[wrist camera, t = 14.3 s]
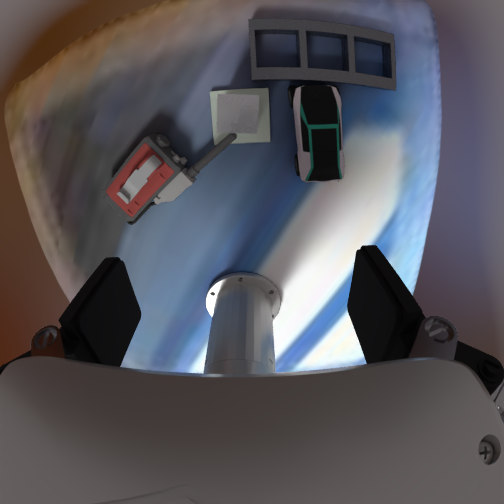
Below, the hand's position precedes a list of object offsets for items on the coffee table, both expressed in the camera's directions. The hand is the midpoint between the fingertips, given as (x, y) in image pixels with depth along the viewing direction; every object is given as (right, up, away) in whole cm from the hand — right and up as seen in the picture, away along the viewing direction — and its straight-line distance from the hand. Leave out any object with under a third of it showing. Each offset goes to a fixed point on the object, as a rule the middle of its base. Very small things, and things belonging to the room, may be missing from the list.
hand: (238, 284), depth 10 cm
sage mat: (-1, +18, +20) cm, 27 cm away
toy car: (+8, +17, +21) cm, 29 cm away
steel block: (-1, +18, +19) cm, 27 cm away
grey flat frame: (+9, +26, +15) cm, 31 cm away
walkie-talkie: (-11, +13, +23) cm, 29 cm away
